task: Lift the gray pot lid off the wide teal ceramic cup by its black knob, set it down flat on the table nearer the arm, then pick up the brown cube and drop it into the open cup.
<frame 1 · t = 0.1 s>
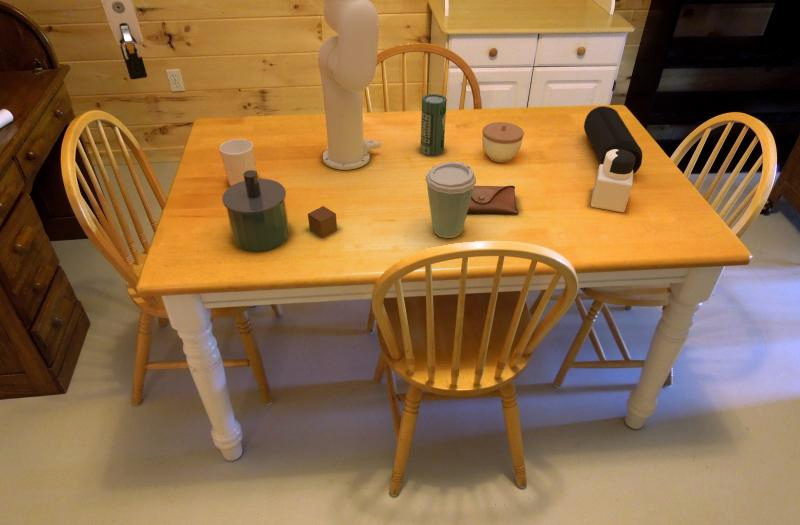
hand: (136, 69, 115), 31 cm above the table, tool pointing down, fingers open, 9 cm apart
portable speaker: (606, 157, 153), on the table
container: (607, 202, 136), on the table
sunglasses case: (479, 206, 134), on the table
white cup: (243, 182, 141), on the table
cup: (261, 235, 124), on the table
trinket box: (499, 157, 153), on the table
can: (431, 151, 155), on the table
gray pot lid: (254, 196, 118), point 10 cm above the table, touching cup
brown cube: (323, 229, 126), on the table
disposable coffee cup: (446, 230, 126), on the table
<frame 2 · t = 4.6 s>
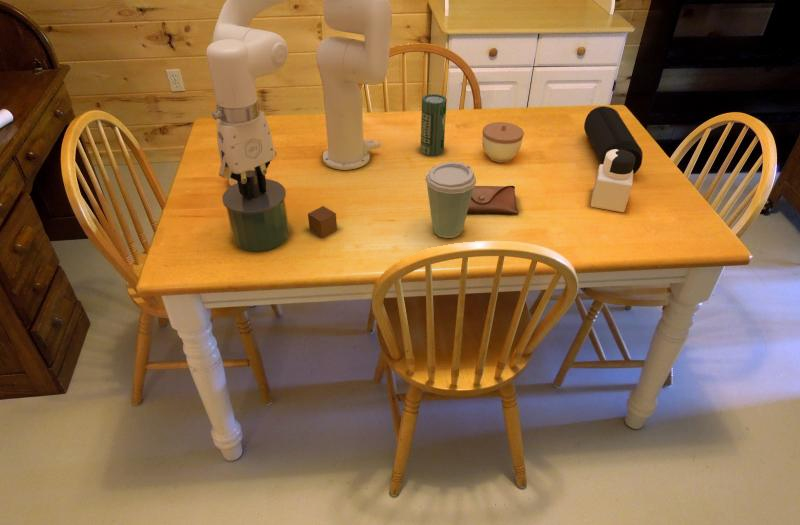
hand: (253, 192, 117), 11 cm above the table, tool pointing down, fingers closed on gray pot lid, 2 cm apart
gray pot lid: (254, 196, 118), point 10 cm above the table, touching cup, gripper
everything else where it was.
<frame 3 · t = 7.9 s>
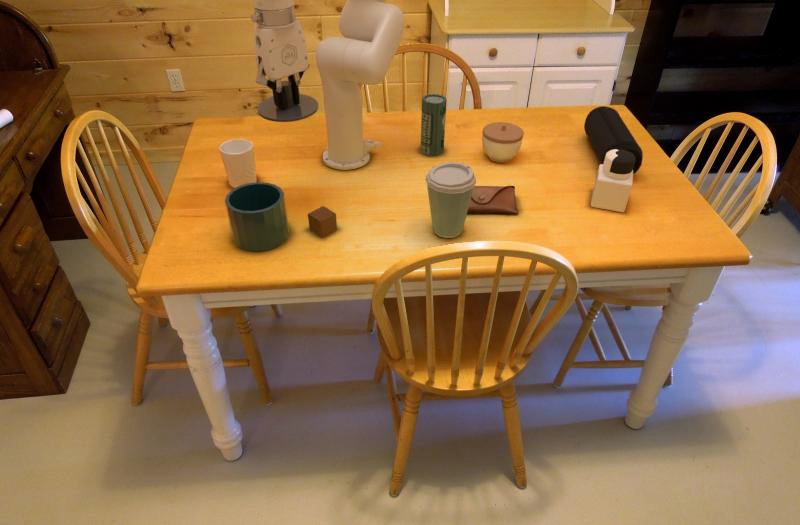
hand: (287, 104, 120), 24 cm above the table, tool pointing down, fingers closed on gray pot lid, 2 cm apart
gray pot lid: (288, 108, 121), point 23 cm above the table, touching gripper
everything else where it was.
when the fingers open (2 cm above the table, at t = 11.2 s): gray pot lid stays where it is, point 1 cm above the table.
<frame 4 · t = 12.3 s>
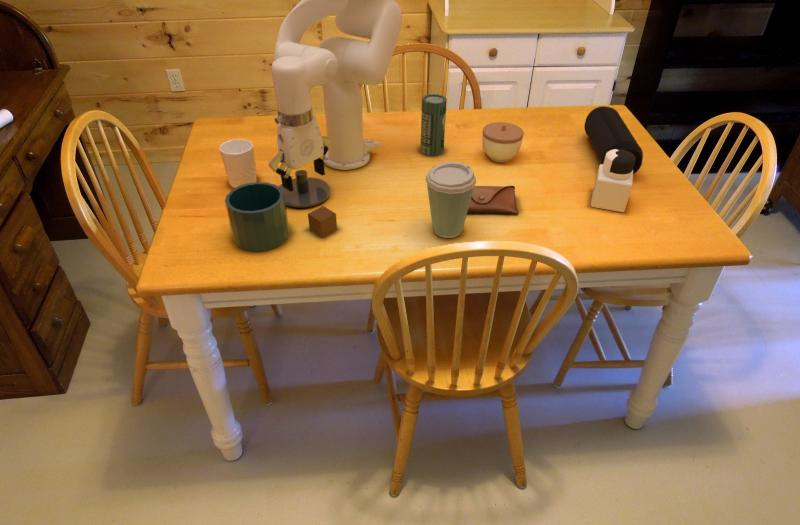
hand: (304, 181, 135), 3 cm above the table, tool pointing down, fingers open, 9 cm apart
gray pot lid: (303, 192, 136), point 1 cm above the table
everything else where it was.
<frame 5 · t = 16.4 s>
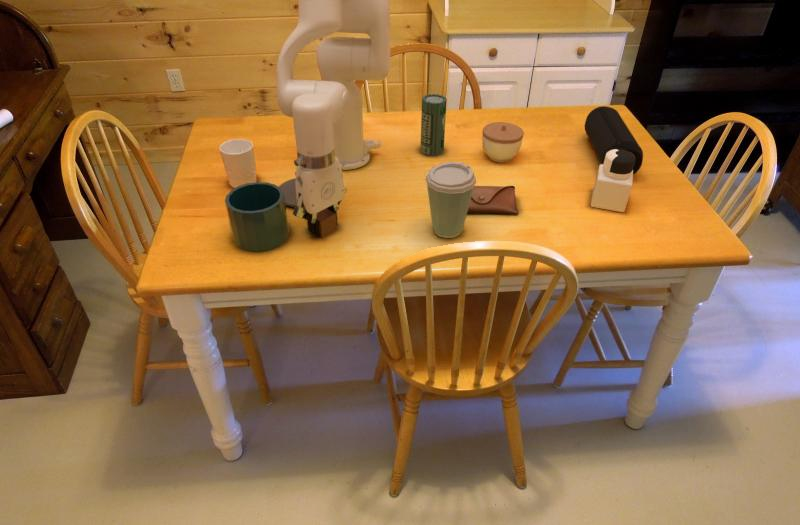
hand: (323, 228, 125), 0 cm above the table, tool pointing down, fingers closed on brown cube, 4 cm apart
brown cube: (323, 229, 126), on the table, touching gripper
everything else where it was.
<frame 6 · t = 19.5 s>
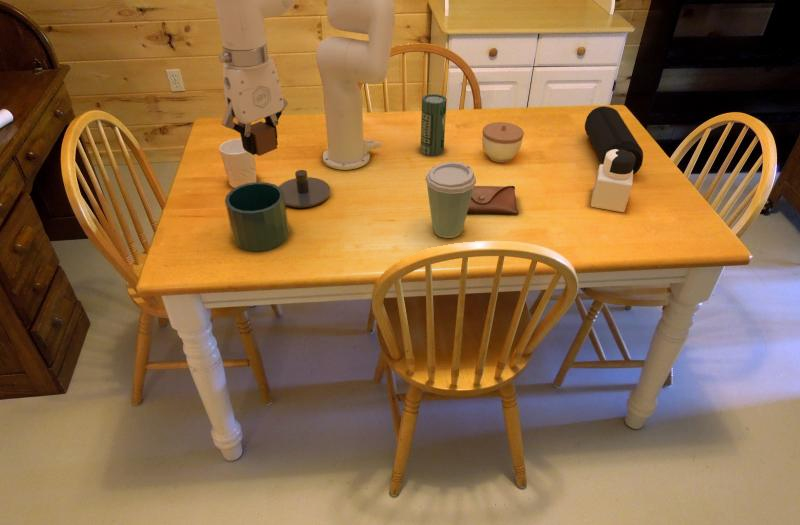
hand: (261, 146, 111), 21 cm above the table, tool pointing down, fingers closed on brown cube, 4 cm apart
brown cube: (261, 148, 111), point 21 cm above the table, touching gripper
everything else where it was.
when the fingers open (9 cm above the table, at t = 22.8 s): brown cube drops 8 cm, resting on cup.
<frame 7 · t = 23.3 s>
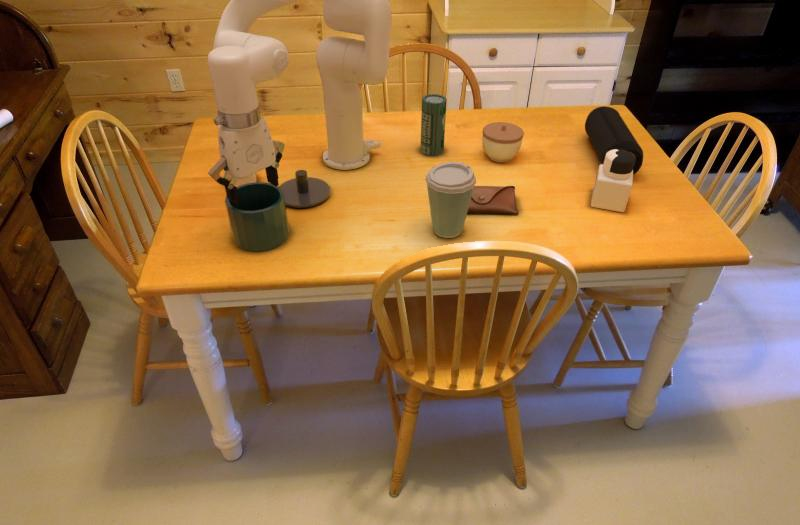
hand: (254, 192, 117), 11 cm above the table, tool pointing down, fingers open, 9 cm apart
brown cube: (261, 233, 124), point 1 cm above the table, touching cup
everything else where it was.
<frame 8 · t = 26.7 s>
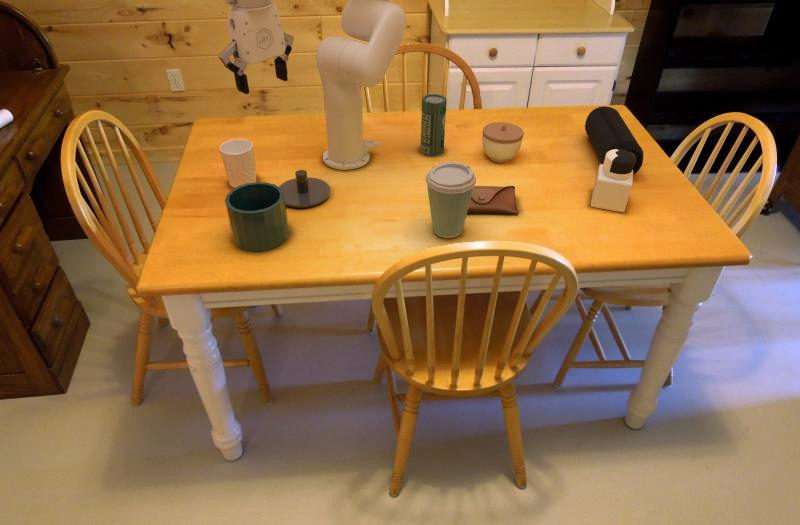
hand: (263, 85, 117), 28 cm above the table, tool pointing down, fingers open, 9 cm apart
nothing on the table moved.
at the end: gray pot lid inside the target area (0.3 cm from its centre), point 0.6 cm above the table; gray pot lid tilted 0°; brown cube inside the target area in the cup (0.0 cm from its centre), point 0.5 cm above the cup's base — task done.
